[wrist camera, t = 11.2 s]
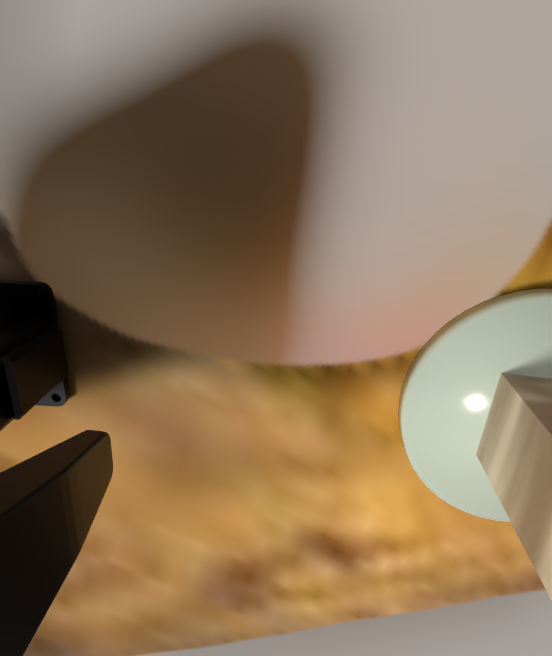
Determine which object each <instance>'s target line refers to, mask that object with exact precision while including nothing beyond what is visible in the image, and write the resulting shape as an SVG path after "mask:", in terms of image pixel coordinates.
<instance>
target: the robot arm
mask: <svg viewBox="0 0 552 656" xmlns="http://www.w3.org/2000/svg"><path fill="white" fill-rule="evenodd" d="M38 290H40V291H41V292H42V293H43V297H41V296H40V295H39V294H38ZM67 374H68V368H67V362H66V356H65V350H64V343H63V337H62V331H61V329H60V327H59V326H58V320H57V314H56V308H55V302H54V296H53V291H52V289H51V288H50V286H49V285H47V284H46V283H43V282H28V281H6V280H0V431H1V430H2V429H3V428H4V427H5V426H6V425H8V424H9V423H10V422H11V421H12V420H13V419H16V420H19V419H21V418H22V417H23V416H24V415H25V414H26V413H27V412H28V411H29V410H30V409H31V408H32V407H34V406H35V405H45V406H62V405H64V404H65V403H66V402H67V401H68V399H69V396H70V394H69V388H68V382H67V376H66V375H67ZM55 393H56V394H58V395H60V397H61V398H58V397H57V396H56V394H55ZM112 473H113V460H112V450H111V440H110V436H109V434H108V433H106V432H102V431H94V430H86V431H84V432H82V433H80V434H78V435H76V436H74V437H72V438H70V439H68V440H66V441H64V442H62V443H59V444H57V445H55V446H53V447H51V448H49V449H47V450H45V451H43V452H41V453H39V454H37V455H35V456H33V457H31V458H29V459H27V460H25V461H23V462H21V463H19V464H17V465H15V466H13V467H11V468H9V469H7V470H5V471H3V472H1V473H0V656H23V654H24V653H25V651H26V649H27V647H28V645H29V644H30V642H31V640H32V638H33V636H34V635H35V633H36V631H37V629H38V627H39V625H40V624H41V622H42V620H43V618H44V616H45V615H46V613H47V611H48V609H49V607H50V606H51V604H52V602H53V600H54V598H55V597H56V595H57V593H58V591H59V589H60V587H61V586H62V584H63V582H64V580H65V578H66V577H67V575H68V573H69V571H70V569H71V568H72V566H73V564H74V562H75V560H76V558H77V556H78V554H79V552H80V550H81V548H82V546H83V544H84V541H85V539H86V537H87V534H88V532H89V530H90V527H91V525H92V523H93V520H94V518H95V516H96V513H97V511H98V508H99V506H100V504H101V501H102V499H103V497H104V494H105V492H106V490H107V487H108V485H109V482H110V480H111V477H112Z"/></svg>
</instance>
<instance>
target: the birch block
mask: <svg viewBox="0 0 552 656" xmlns="http://www.w3.org/2000/svg"><path fill="white" fill-rule="evenodd" d="M476 455H477V457H478V459H479V461H480V463H481V465H482V467H483V469H484V471H485V473H486V475H487V477H488V479H489V481H490V483H491V484H492V486H493V488H494V490H495V492H496V494H497V496H498V498H499V500H500V502H501V504H502V506H503V508H504V510H505V512H506V514H507V515H508V517H509V519H510V521H511V523H512V525H513V527H514V529H515V531H516V533H517V535H518V537H519V539H520V541H521V543H522V544H523V546H524V548H525V550H526V552H527V554H528V556H529V558H530V560H531V562H532V564H533V566H534V568H535V570H536V572H537V573H538V575H539V577H540V579H541V581H542V583H543V585H544V587H545V589H546V591H547V593H548V595H549V597H550V599H551V601H552V379H549V378H540V377H532V376H523V375H514V374H506V373H501V375H500V378H499V381H498V384H497V388H496V391H495V394H494V397H493V401H492V404H491V407H490V410H489V413H488V417H487V420H486V423H485V426H484V430H483V433H482V436H481V439H480V443H479V446H478V449H477V452H476Z"/></svg>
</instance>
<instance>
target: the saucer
mask: <svg viewBox="0 0 552 656" xmlns="http://www.w3.org/2000/svg"><path fill="white" fill-rule="evenodd" d="M501 373H506V374H514V375H523V376H532V377H540V378H549V379H552V288H541V289H530V290H523V291H517V292H513V293H509V294H505V295H501V296H498V297H495V298H492V299H490V300H487V301H484V302H482V303H480V304H478V305H476V306H474V307H472V308H470V309H468V310H466V311H464V312H463V313H461V314H460V315H458V316H457V317H455V318H454V319H452V320H451V321H449V322H448V323H447V324H446V325H444V326H443V327H442V328H441V329H440V330H438V331H437V332H436V333H435V334H434V335H433V336H432V337H431V338H430V340H429V341H428V342H427V343H426V344H425V345H424V346H423V348H422V349H421V350H420V352H419V353H418V355H417V356H416V357H415V359H414V361H413V363H412V364H411V366H410V368H409V370H408V372H407V374H406V377H405V380H404V382H403V385H402V389H401V393H400V398H399V409H398V416H399V427H400V431H401V435H402V439H403V442H404V446H405V449H406V452H407V455H408V458H409V460H410V462H411V465H412V467H413V468H414V470H415V472H416V473H417V475H418V476H419V478H420V479H421V480H422V481H423V482H424V484H425V485H426V486H427V487H428V488H429V489H430V490H431V491H432V492H433V493H435V494H436V495H437V496H438V497H439V498H441V499H442V500H444V501H445V502H447V503H448V504H450V505H452V506H454V507H456V508H458V509H460V510H462V511H464V512H467V513H470V514H472V515H475V516H478V517H482V518H487V519H491V520H497V521H505V522H511V521H510V519H509V517H508V515H507V514H506V512H505V510H504V508H503V506H502V504H501V502H500V500H499V498H498V496H497V494H496V492H495V490H494V488H493V486H492V484H491V483H490V481H489V479H488V477H487V475H486V473H485V471H484V469H483V467H482V465H481V463H480V461H479V459H478V457H477V455H476V452H477V449H478V446H479V443H480V439H481V436H482V433H483V430H484V426H485V423H486V420H487V417H488V413H489V410H490V407H491V404H492V401H493V397H494V394H495V391H496V388H497V384H498V381H499V378H500V375H501Z"/></svg>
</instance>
